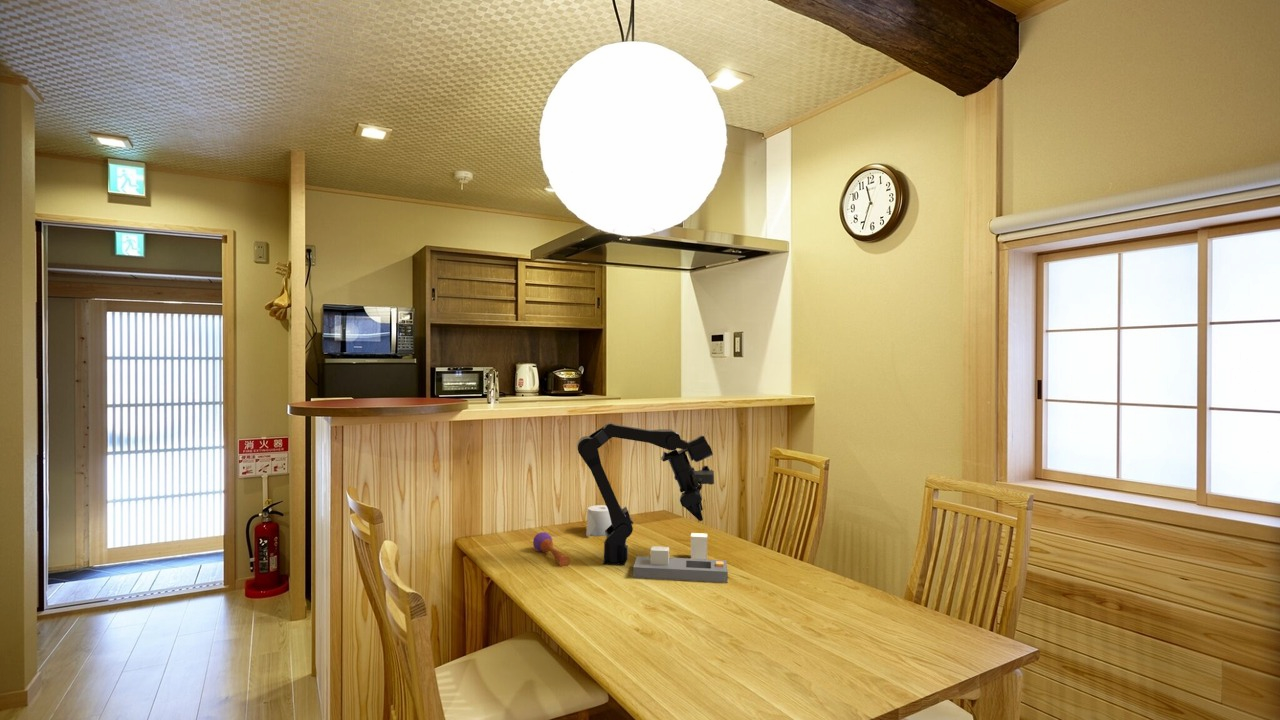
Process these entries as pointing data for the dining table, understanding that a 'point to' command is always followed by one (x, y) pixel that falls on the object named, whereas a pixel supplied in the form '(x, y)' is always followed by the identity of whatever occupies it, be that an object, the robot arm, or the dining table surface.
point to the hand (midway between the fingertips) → (701, 515)
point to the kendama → (549, 548)
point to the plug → (698, 546)
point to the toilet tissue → (597, 520)
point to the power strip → (679, 567)
